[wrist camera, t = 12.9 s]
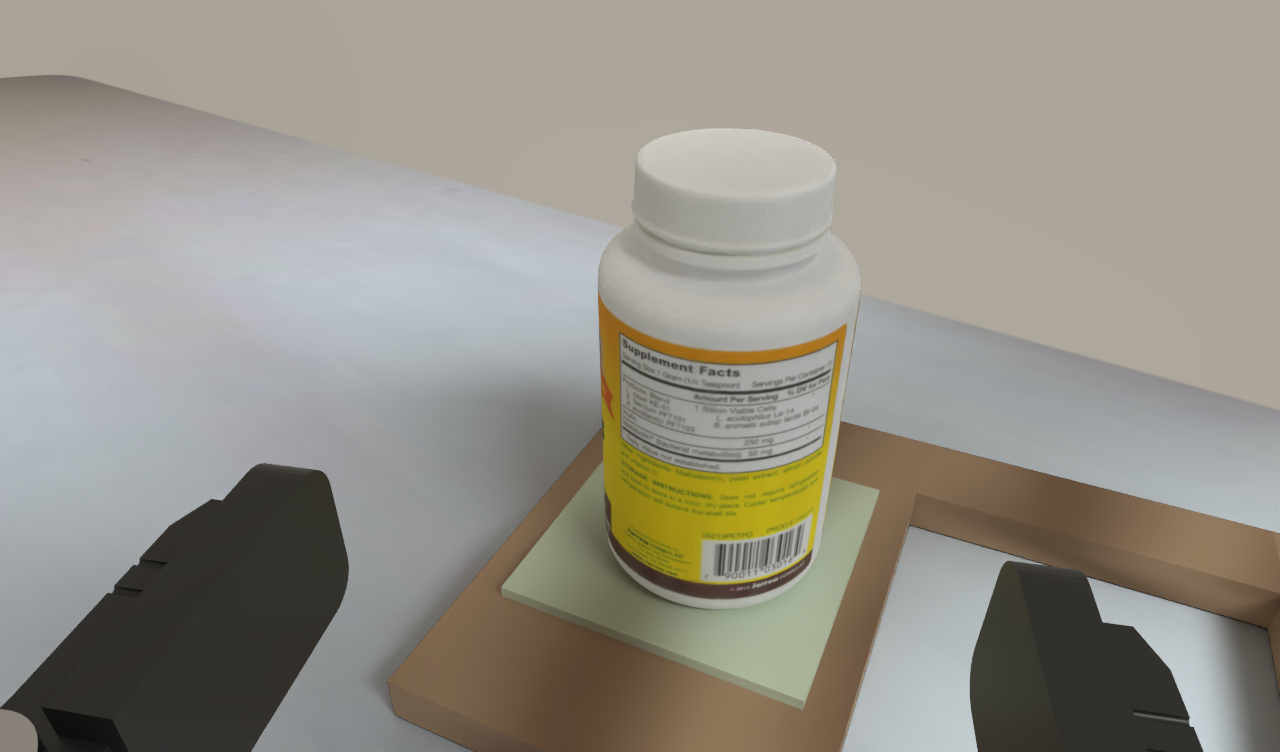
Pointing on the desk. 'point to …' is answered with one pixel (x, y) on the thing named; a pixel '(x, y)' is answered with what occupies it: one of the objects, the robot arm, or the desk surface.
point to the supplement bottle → (724, 365)
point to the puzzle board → (777, 607)
